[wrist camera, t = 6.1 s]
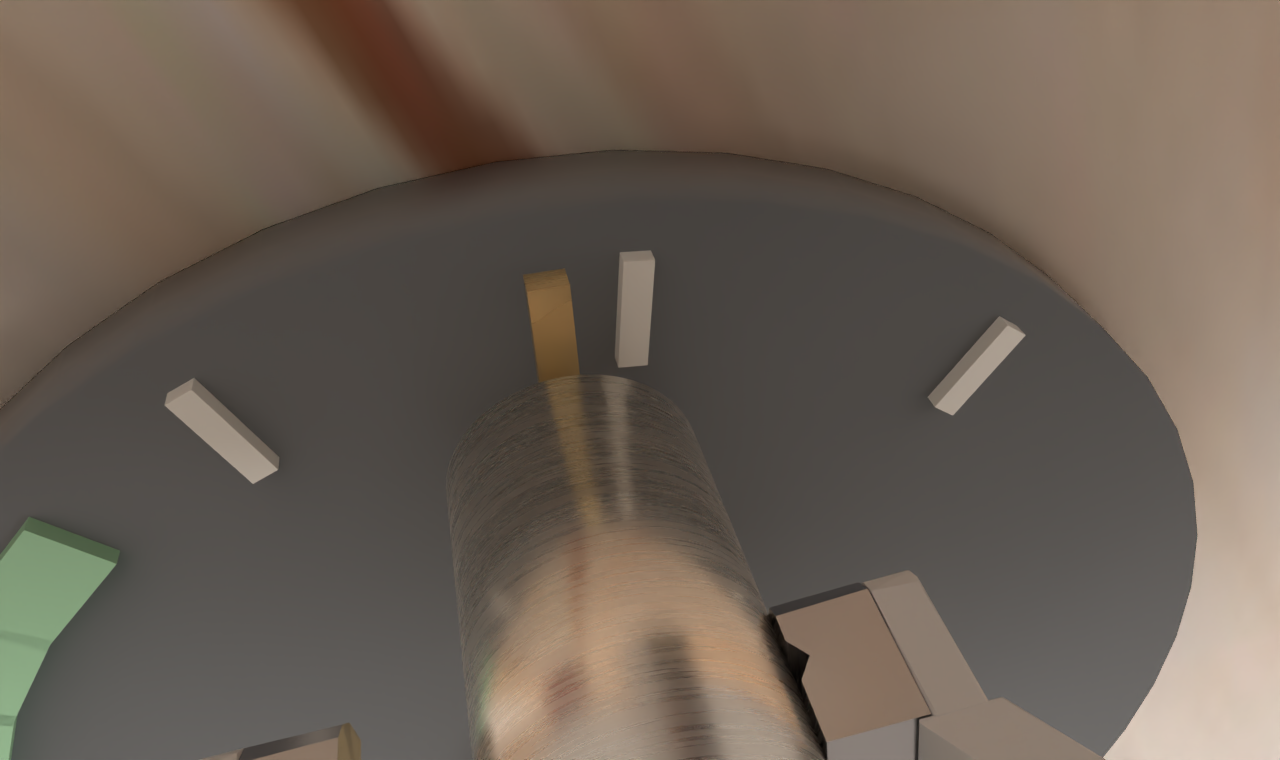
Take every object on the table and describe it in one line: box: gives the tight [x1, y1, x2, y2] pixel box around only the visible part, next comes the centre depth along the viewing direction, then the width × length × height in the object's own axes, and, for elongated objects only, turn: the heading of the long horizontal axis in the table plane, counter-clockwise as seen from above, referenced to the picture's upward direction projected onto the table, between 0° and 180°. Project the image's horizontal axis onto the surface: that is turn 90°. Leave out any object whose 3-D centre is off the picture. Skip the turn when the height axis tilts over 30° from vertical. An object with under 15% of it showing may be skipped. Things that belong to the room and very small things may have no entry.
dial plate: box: [0, 150, 1197, 760], centre depth 20 cm, size 24×24×2 cm
